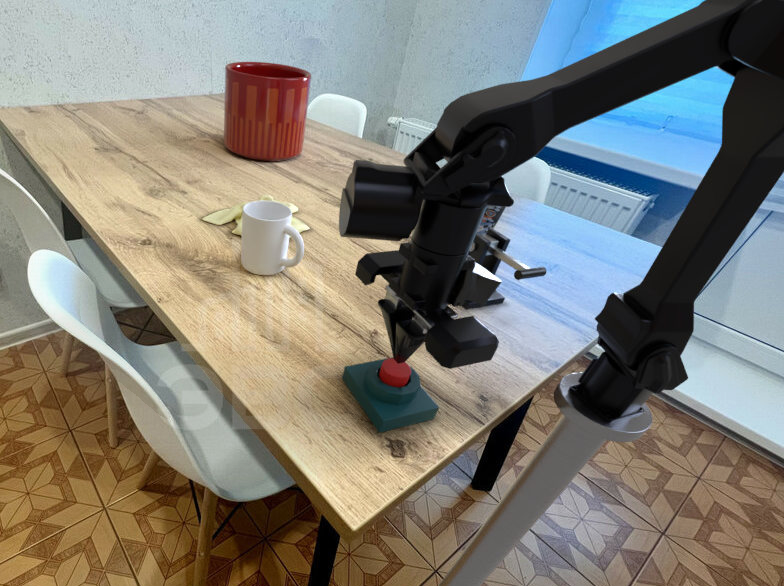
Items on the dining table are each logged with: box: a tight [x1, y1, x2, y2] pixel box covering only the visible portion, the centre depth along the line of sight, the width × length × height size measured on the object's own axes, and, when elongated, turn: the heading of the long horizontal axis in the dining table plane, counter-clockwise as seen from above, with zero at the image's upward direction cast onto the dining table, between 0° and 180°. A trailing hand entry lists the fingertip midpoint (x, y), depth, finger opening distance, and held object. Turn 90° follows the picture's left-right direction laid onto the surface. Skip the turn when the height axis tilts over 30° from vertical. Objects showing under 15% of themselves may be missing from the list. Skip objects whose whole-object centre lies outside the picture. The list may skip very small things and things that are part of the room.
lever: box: [482, 235, 547, 281], centre depth 74 cm, size 12×5×2 cm, turn 20°
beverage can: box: [477, 206, 507, 235], centre depth 94 cm, size 6×7×12 cm
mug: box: [240, 200, 305, 276], centre depth 80 cm, size 12×8×10 cm
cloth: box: [201, 194, 311, 239], centre depth 96 cm, size 22×19×6 cm
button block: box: [341, 356, 440, 434], centre depth 59 cm, size 10×8×4 cm
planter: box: [223, 61, 312, 162], centre depth 129 cm, size 23×23×20 cm
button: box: [379, 357, 411, 388], centre depth 57 cm, size 4×4×2 cm
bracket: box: [462, 228, 511, 310], centre depth 80 cm, size 10×8×11 cm
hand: (399, 361), depth 56 cm, fingers closed
